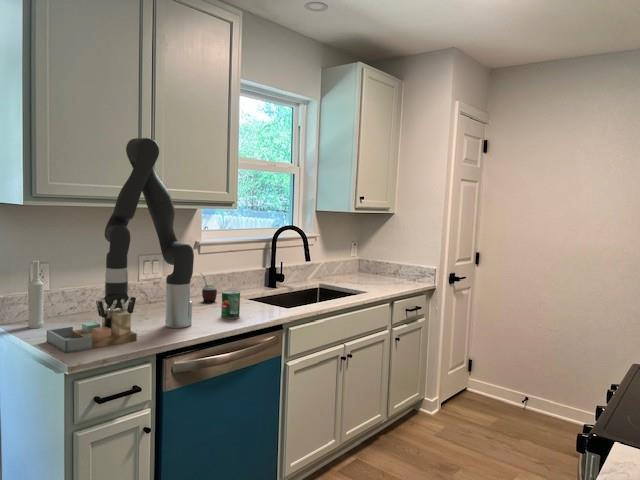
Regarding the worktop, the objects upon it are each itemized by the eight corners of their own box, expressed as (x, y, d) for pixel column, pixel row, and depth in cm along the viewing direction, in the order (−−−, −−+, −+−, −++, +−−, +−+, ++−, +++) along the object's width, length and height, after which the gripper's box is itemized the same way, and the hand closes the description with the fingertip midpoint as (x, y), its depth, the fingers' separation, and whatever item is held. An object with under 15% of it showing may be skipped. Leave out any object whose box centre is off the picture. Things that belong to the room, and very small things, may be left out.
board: (114, 330, 187) (114, 324, 187) (136, 340, 175) (136, 333, 175) (71, 337, 175) (71, 330, 175) (92, 348, 164) (92, 341, 164)
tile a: (94, 328, 179) (95, 321, 179) (100, 331, 176) (100, 324, 176) (82, 330, 176) (82, 323, 176) (87, 333, 173) (87, 326, 173)
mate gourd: (218, 301, 249) (218, 271, 248) (214, 304, 241) (214, 273, 240) (203, 300, 249) (204, 270, 248) (198, 303, 241) (199, 272, 240)
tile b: (105, 333, 173) (105, 326, 173) (111, 336, 170) (111, 329, 170) (92, 335, 170) (92, 328, 170) (97, 338, 167) (98, 331, 167)
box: (71, 337, 175) (71, 326, 175) (92, 348, 164) (92, 336, 164) (46, 341, 169) (46, 330, 169) (65, 353, 158) (65, 341, 158)
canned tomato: (217, 317, 215) (218, 292, 214) (228, 313, 222) (229, 289, 221) (232, 319, 212) (232, 294, 211) (243, 316, 219) (243, 291, 218)
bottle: (46, 325, 190) (46, 260, 188) (39, 328, 185) (39, 262, 183) (32, 324, 190) (32, 260, 188) (25, 328, 185) (25, 261, 183)
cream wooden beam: (112, 325, 185) (113, 306, 184) (130, 333, 175) (130, 313, 175) (102, 327, 182) (102, 308, 181) (119, 335, 172) (119, 315, 172)
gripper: (130, 277, 185) (130, 322, 186) (91, 280, 174) (91, 328, 175) (140, 280, 180) (140, 326, 181) (101, 283, 169) (100, 332, 170)
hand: (116, 326), depth 178 cm, fingers open, 5 cm apart
